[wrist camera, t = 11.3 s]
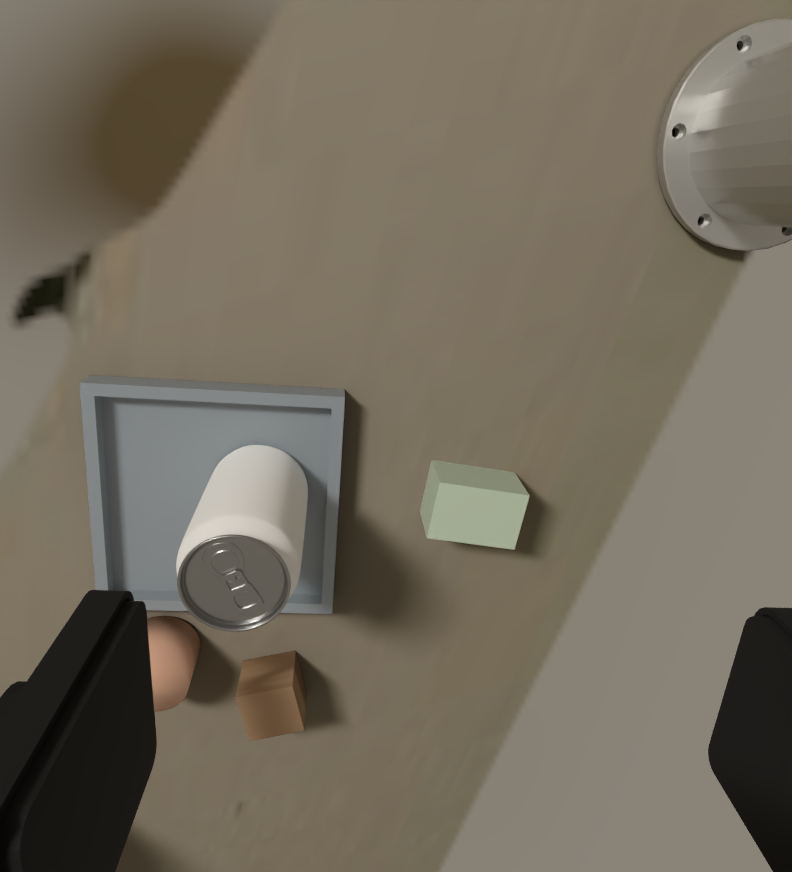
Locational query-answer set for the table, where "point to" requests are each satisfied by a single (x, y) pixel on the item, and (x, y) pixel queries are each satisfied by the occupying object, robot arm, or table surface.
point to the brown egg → (171, 659)
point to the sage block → (473, 505)
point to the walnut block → (272, 696)
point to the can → (245, 540)
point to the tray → (199, 473)
